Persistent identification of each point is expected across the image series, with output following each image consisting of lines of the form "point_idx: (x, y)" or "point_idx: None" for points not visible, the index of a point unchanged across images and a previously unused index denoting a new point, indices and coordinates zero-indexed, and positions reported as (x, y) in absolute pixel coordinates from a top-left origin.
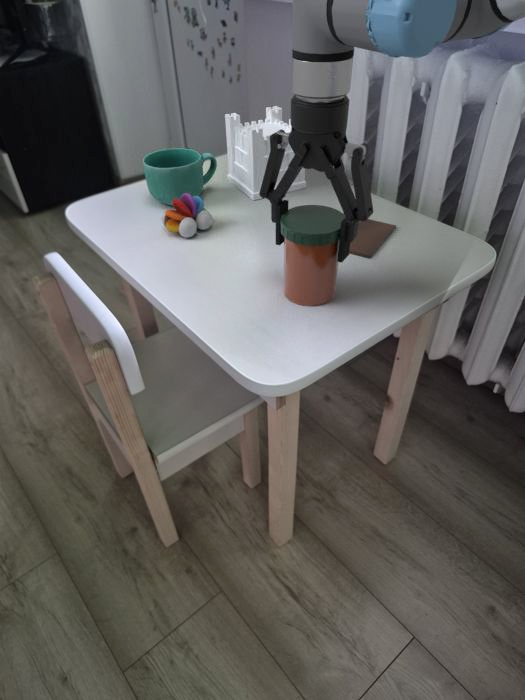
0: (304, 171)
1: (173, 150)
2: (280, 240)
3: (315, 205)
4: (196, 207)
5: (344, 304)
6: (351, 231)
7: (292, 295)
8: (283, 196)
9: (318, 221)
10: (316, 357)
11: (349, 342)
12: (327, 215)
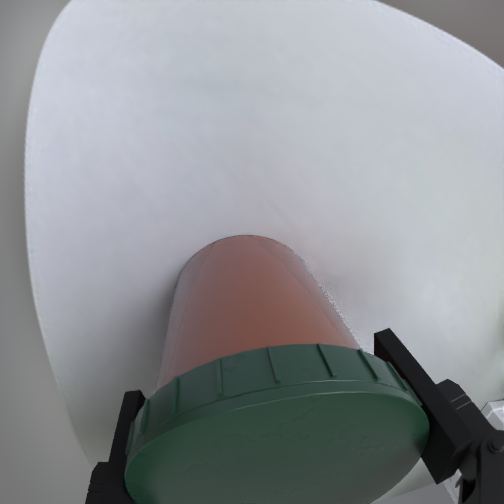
0: (443, 482)
1: None
2: (381, 348)
3: None
4: None
5: (141, 317)
6: (96, 496)
7: (246, 242)
8: (463, 485)
9: (249, 496)
10: (49, 115)
11: (37, 213)
12: None
